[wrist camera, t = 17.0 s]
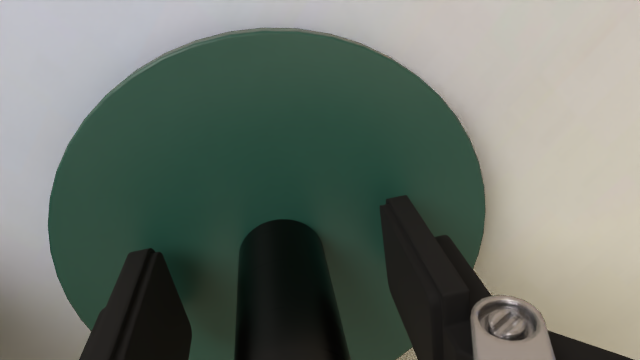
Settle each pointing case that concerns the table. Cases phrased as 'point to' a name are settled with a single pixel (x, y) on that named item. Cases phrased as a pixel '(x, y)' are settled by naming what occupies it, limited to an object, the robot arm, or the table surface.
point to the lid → (264, 191)
